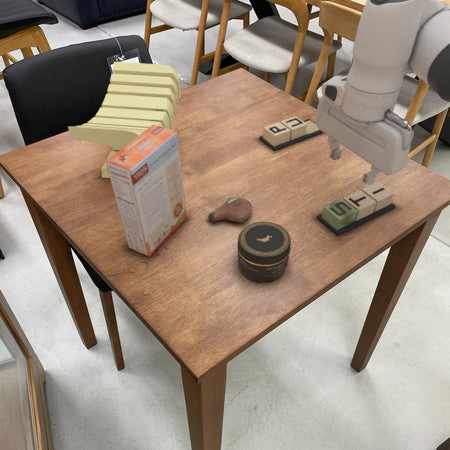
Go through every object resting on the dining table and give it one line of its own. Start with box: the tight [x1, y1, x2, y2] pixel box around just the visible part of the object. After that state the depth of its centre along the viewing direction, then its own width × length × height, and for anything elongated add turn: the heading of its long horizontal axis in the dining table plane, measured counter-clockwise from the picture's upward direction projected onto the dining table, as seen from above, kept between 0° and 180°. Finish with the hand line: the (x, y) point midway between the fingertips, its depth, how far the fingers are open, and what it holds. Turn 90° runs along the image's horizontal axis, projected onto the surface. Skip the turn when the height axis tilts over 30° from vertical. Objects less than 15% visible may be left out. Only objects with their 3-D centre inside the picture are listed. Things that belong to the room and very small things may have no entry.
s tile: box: [321, 198, 357, 230], centre depth 93 cm, size 5×5×3 cm
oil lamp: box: [207, 196, 253, 223], centre depth 95 cm, size 9×4×8 cm
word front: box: [315, 181, 396, 237], centre depth 95 cm, size 17×7×4 cm, turn 123°
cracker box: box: [105, 124, 188, 257], centre depth 85 cm, size 14×6×21 cm, turn 149°
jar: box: [236, 221, 292, 283], centre depth 84 cm, size 10×10×8 cm
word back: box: [258, 115, 325, 152], centre depth 116 cm, size 17×7×4 cm, turn 123°
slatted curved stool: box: [67, 61, 182, 179], centre depth 102 cm, size 30×16×18 cm, turn 172°
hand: (350, 169), depth 85 cm, fingers open, 8 cm apart
